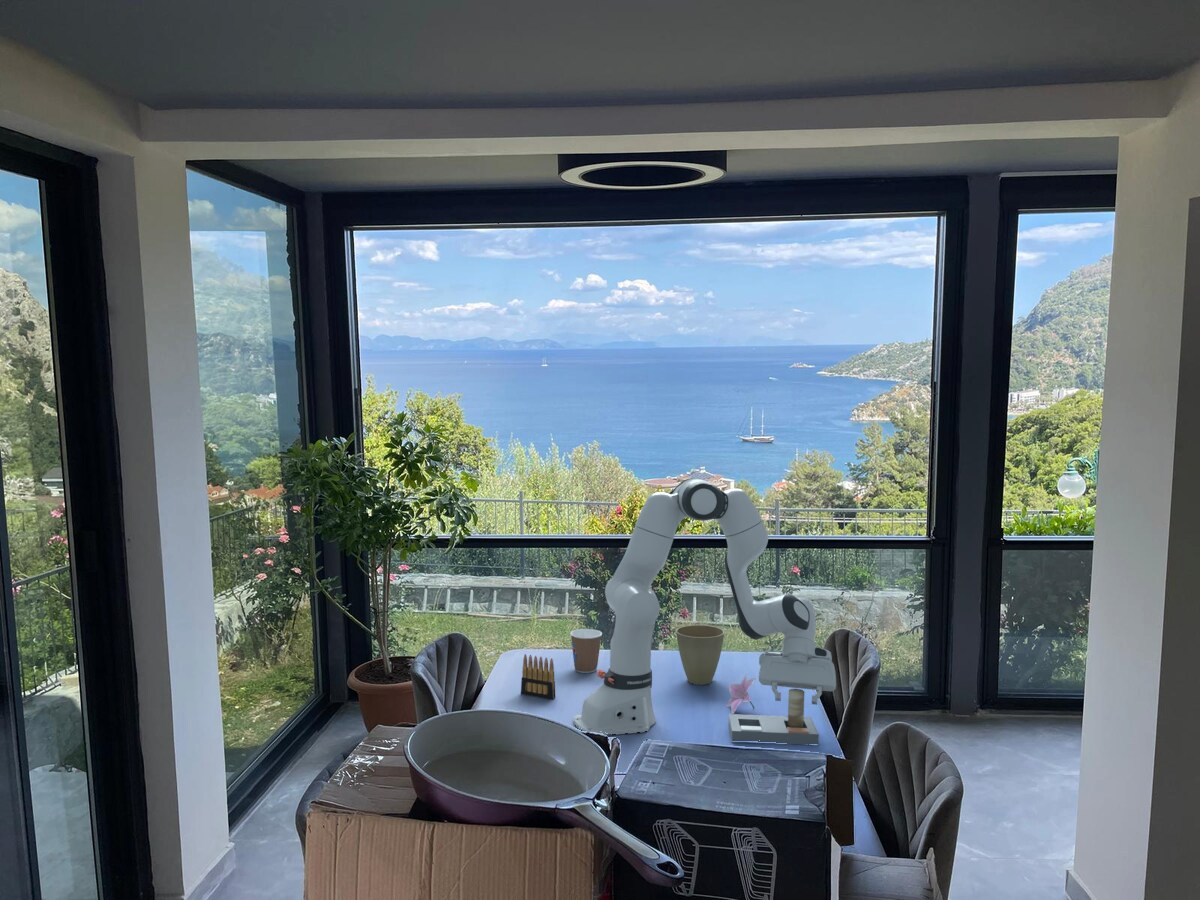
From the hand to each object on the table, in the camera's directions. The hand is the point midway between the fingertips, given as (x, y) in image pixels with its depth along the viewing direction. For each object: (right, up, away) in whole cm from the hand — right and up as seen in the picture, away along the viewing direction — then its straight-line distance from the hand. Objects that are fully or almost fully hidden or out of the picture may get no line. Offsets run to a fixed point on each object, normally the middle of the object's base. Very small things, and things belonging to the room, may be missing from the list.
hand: (796, 701), depth 234 cm
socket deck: (-6, -9, 0) cm, 11 cm away
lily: (-12, -8, +19) cm, 24 cm away
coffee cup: (-56, -5, +53) cm, 77 cm away
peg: (0, -9, 0) cm, 9 cm away
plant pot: (-21, -6, +43) cm, 48 cm away
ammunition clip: (-70, -6, +28) cm, 76 cm away
